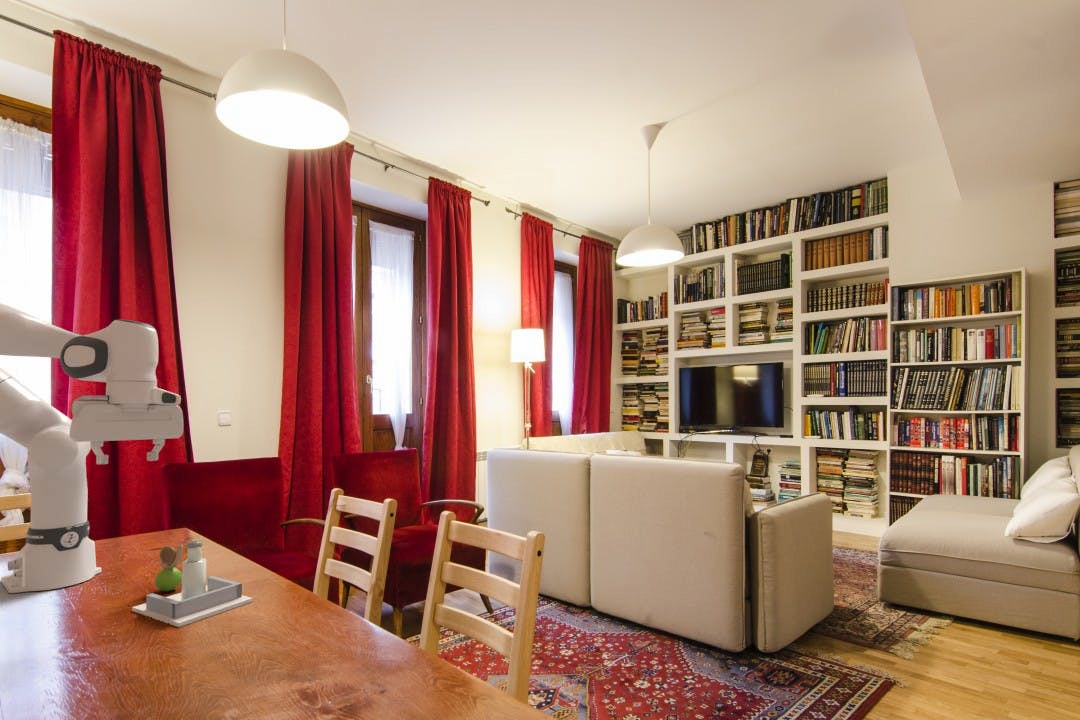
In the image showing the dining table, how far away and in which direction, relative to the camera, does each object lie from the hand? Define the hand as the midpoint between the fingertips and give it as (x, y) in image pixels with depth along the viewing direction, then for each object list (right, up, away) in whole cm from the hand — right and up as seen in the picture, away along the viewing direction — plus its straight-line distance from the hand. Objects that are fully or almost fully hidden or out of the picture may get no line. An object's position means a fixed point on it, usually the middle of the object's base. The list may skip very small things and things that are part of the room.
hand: (128, 462), depth 123 cm
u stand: (+10, -33, +6) cm, 35 cm away
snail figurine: (-1, -34, +16) cm, 37 cm away
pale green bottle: (+10, -32, +6) cm, 34 cm away
